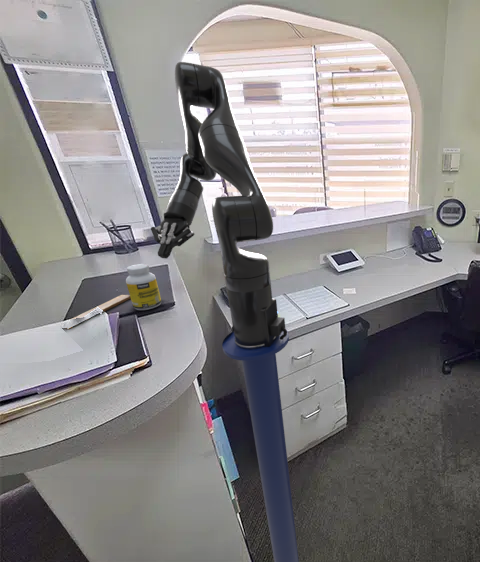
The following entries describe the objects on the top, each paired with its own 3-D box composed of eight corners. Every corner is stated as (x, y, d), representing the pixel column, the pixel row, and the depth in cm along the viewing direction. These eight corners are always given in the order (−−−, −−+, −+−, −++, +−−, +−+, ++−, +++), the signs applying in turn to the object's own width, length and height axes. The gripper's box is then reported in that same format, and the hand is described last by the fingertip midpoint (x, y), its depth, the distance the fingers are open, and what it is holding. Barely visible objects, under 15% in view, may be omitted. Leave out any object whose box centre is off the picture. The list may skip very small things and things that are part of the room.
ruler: (131, 297, 90) (131, 295, 90) (69, 329, 74) (68, 326, 73) (122, 297, 90) (121, 294, 90) (58, 328, 74) (56, 325, 74)
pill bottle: (135, 313, 82) (123, 272, 77) (132, 305, 86) (120, 265, 82) (164, 306, 86) (154, 267, 81) (159, 298, 90) (150, 261, 86)
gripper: (208, 216, 99) (191, 264, 93) (170, 214, 100) (150, 261, 94) (195, 201, 92) (175, 252, 86) (154, 199, 94) (131, 249, 87)
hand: (162, 257), depth 90 cm, fingers closed
